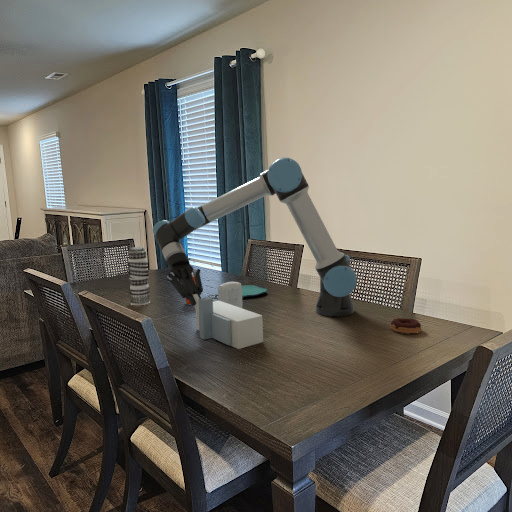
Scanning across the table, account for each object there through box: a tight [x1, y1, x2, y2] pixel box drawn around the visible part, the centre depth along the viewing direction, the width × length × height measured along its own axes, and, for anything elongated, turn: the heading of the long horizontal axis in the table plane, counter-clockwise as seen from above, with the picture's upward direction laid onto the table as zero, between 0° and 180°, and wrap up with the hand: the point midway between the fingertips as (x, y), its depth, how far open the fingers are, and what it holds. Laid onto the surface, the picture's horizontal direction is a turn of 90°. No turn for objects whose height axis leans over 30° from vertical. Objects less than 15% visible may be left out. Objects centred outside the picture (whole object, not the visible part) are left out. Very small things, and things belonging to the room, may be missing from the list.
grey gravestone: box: [217, 281, 243, 309], centre depth 185 cm, size 10×4×12 cm, turn 123°
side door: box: [198, 296, 231, 346], centre depth 149 cm, size 12×4×13 cm, turn 37°
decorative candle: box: [126, 246, 151, 306], centre depth 200 cm, size 9×9×25 cm
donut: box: [390, 317, 422, 334], centre depth 158 cm, size 10×10×4 cm
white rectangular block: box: [195, 300, 264, 350], centre depth 156 cm, size 26×10×9 cm, turn 37°
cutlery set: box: [204, 285, 268, 302], centre depth 213 cm, size 20×30×2 cm, turn 123°
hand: (201, 312), depth 154 cm, fingers closed
